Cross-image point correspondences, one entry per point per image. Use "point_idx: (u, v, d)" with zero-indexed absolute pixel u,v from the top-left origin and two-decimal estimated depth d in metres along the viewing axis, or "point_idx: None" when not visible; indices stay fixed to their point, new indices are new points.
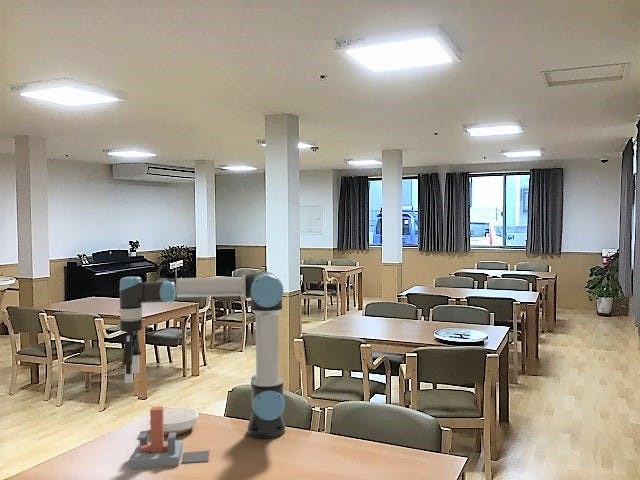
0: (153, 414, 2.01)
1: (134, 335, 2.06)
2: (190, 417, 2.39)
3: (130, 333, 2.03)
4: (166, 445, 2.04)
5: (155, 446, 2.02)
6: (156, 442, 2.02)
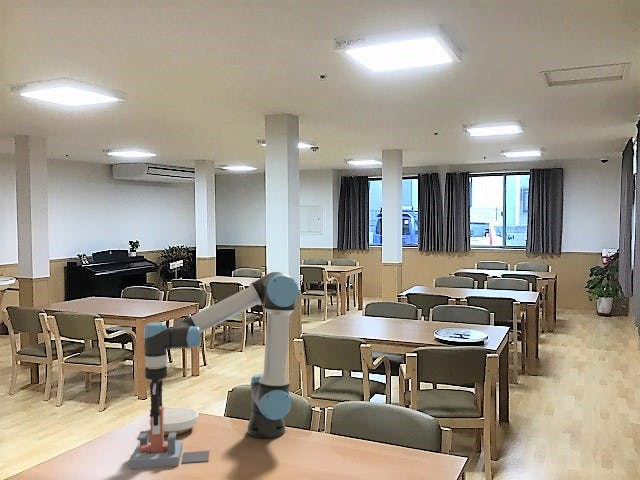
0: None
1: (159, 383, 2.02)
2: (190, 417, 2.39)
3: (155, 381, 2.00)
4: (166, 445, 2.04)
5: (155, 446, 2.02)
6: (156, 442, 2.02)
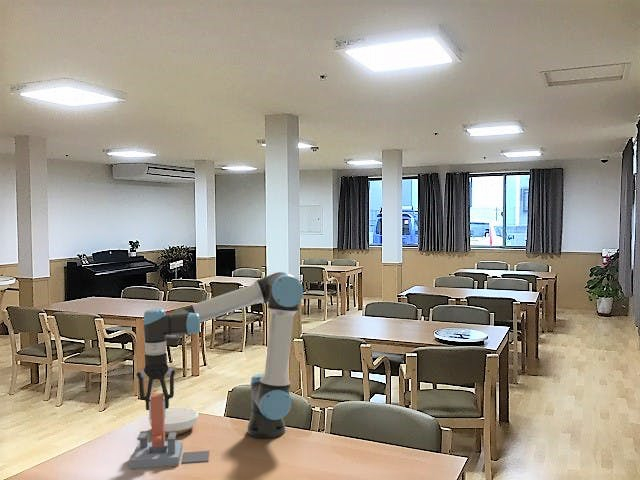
0: (162, 399, 2.03)
1: None
2: (190, 417, 2.39)
3: None
4: None
5: (163, 431, 2.03)
6: (163, 426, 2.04)
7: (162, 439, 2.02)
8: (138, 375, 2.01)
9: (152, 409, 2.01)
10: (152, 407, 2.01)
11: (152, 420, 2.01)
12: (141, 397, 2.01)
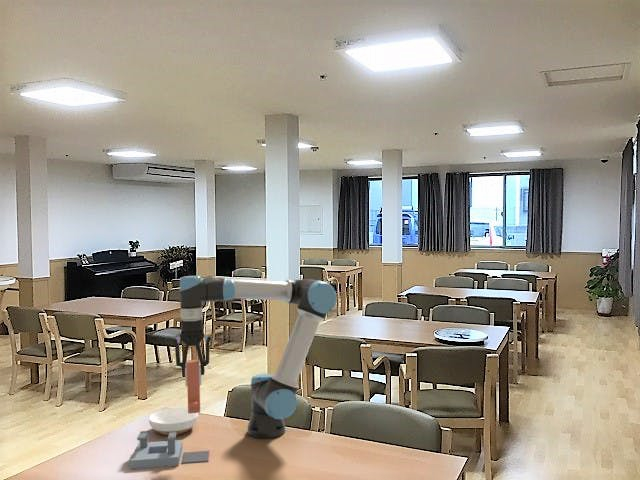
0: (198, 365, 2.03)
1: None
2: (190, 417, 2.39)
3: (202, 331, 2.04)
4: None
5: (199, 397, 2.03)
6: (199, 393, 2.04)
7: (198, 405, 2.02)
8: (174, 341, 2.01)
9: (188, 375, 2.01)
10: (188, 373, 2.01)
11: (188, 386, 2.01)
12: (177, 363, 2.01)
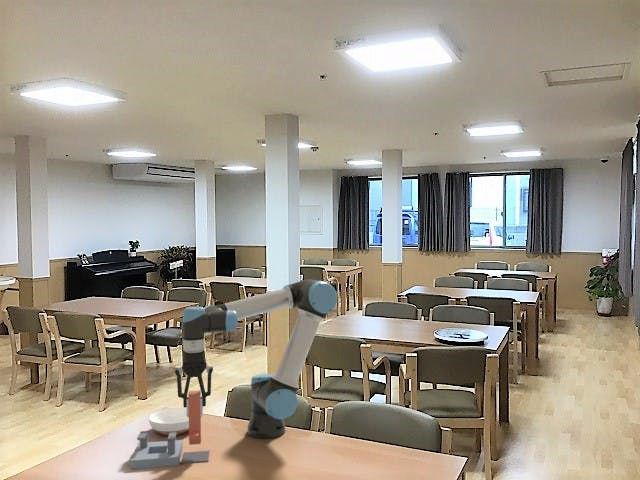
0: (200, 396, 2.03)
1: None
2: None
3: (204, 362, 2.04)
4: None
5: (200, 428, 2.03)
6: (200, 424, 2.04)
7: (199, 437, 2.02)
8: (176, 372, 2.01)
9: (190, 406, 2.01)
10: (190, 404, 2.01)
11: (189, 417, 2.01)
12: (179, 394, 2.01)
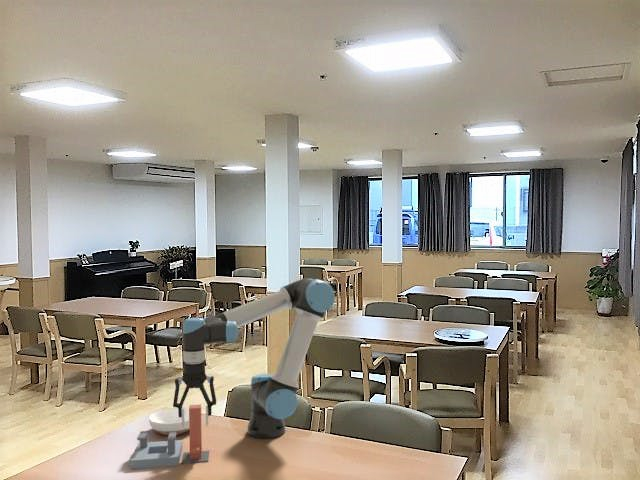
0: (200, 411, 2.03)
1: None
2: None
3: None
4: None
5: (201, 443, 2.04)
6: (201, 438, 2.04)
7: (200, 451, 2.02)
8: (176, 382, 2.01)
9: (190, 421, 2.01)
10: (190, 419, 2.01)
11: (190, 432, 2.02)
12: (174, 404, 2.01)
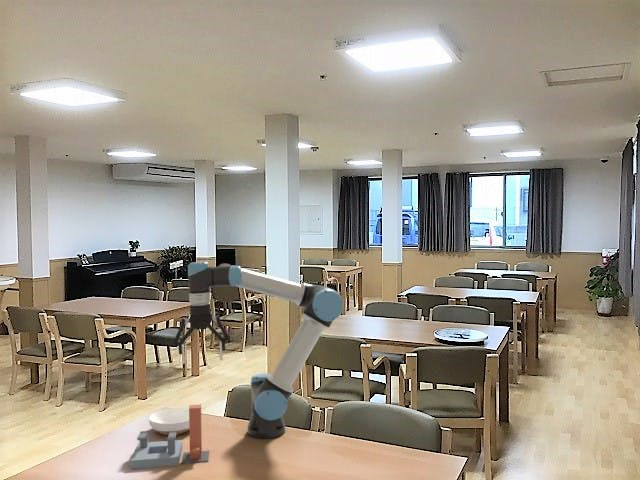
0: (200, 411, 2.03)
1: None
2: None
3: (210, 315, 2.11)
4: None
5: (201, 443, 2.04)
6: (201, 438, 2.04)
7: (200, 451, 2.02)
8: (182, 321, 2.07)
9: (190, 421, 2.01)
10: (190, 419, 2.01)
11: (190, 432, 2.02)
12: (175, 342, 2.07)
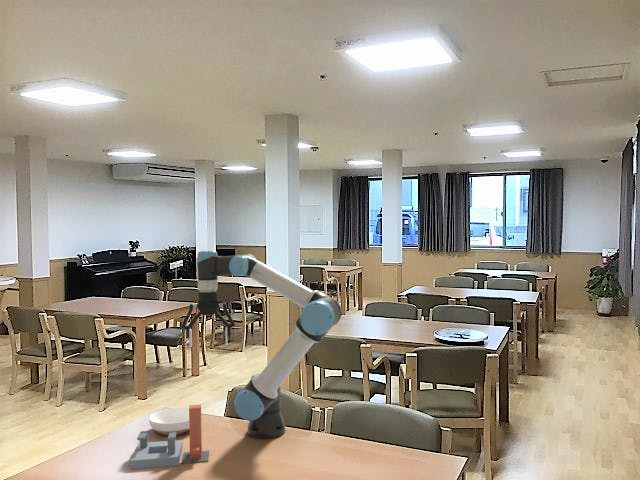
0: (200, 411, 2.03)
1: None
2: None
3: (217, 301, 2.20)
4: None
5: (201, 443, 2.04)
6: (201, 438, 2.04)
7: (200, 451, 2.02)
8: (190, 306, 2.17)
9: (190, 421, 2.01)
10: (190, 419, 2.01)
11: (190, 432, 2.02)
12: (182, 326, 2.17)
